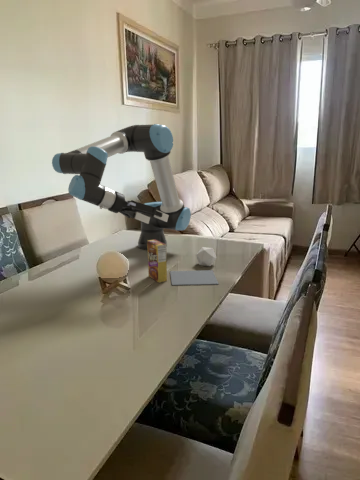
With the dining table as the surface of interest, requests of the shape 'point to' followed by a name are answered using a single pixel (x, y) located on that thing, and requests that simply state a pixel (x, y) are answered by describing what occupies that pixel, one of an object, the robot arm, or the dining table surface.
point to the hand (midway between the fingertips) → (158, 219)
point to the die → (206, 256)
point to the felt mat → (193, 278)
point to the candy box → (157, 260)
